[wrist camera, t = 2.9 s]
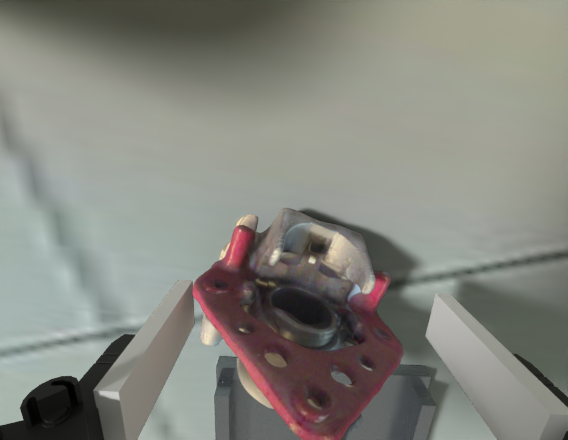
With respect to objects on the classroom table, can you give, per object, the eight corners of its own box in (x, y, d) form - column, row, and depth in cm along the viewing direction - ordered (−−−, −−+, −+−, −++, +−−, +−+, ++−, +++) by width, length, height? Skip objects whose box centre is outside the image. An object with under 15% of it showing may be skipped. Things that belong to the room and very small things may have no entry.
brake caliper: (438, 217, 15) (490, 537, 8) (348, 284, 24) (336, 463, 17) (240, 147, 14) (100, 444, 7) (224, 245, 23) (155, 418, 16)
